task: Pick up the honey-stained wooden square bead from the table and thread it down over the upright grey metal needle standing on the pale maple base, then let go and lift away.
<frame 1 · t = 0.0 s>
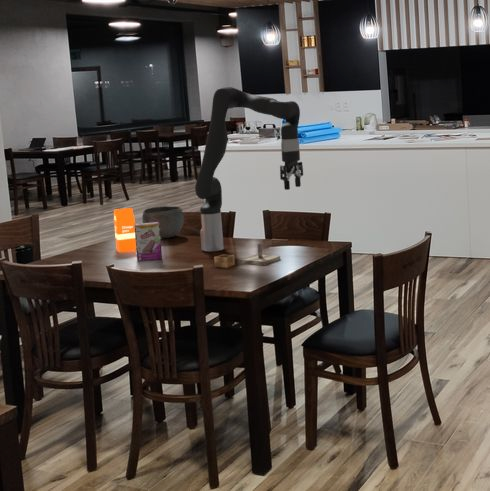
hand: (292, 188, 364), 29 cm above the table, fingers open, 8 cm apart
bead: (224, 265, 359), on the table
candy bar box: (149, 260, 383), on the table
orange juice: (127, 250, 409), on the table
bowl: (164, 238, 436), on the table
needle post: (260, 261, 363), on the table
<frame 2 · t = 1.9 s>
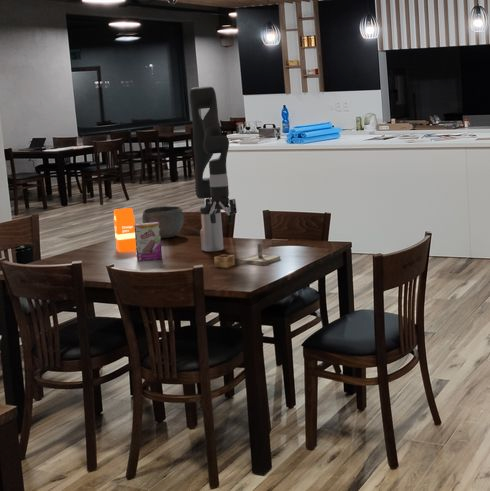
hand: (221, 223, 356), 18 cm above the table, fingers open, 8 cm apart
nothing on the table moved.
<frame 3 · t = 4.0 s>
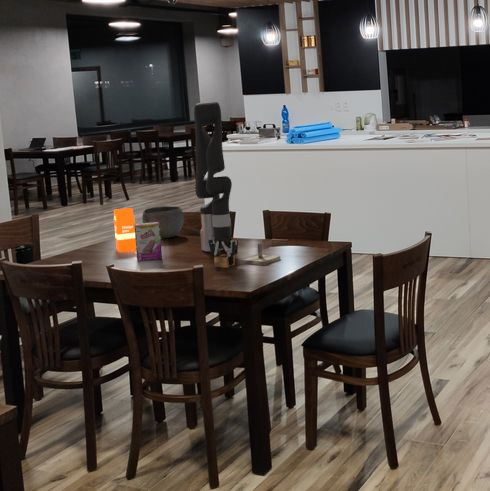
hand: (224, 264, 359), 1 cm above the table, fingers closed on bead, 6 cm apart
bead: (224, 265, 359), on the table, touching gripper
everything else where it was.
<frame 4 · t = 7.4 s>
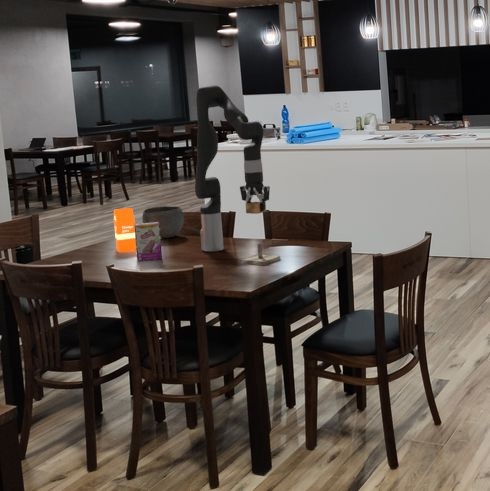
hand: (256, 210, 359), 22 cm above the table, fingers closed on bead, 6 cm apart
bead: (256, 212, 359), point 21 cm above the table, touching gripper
everything else where it was.
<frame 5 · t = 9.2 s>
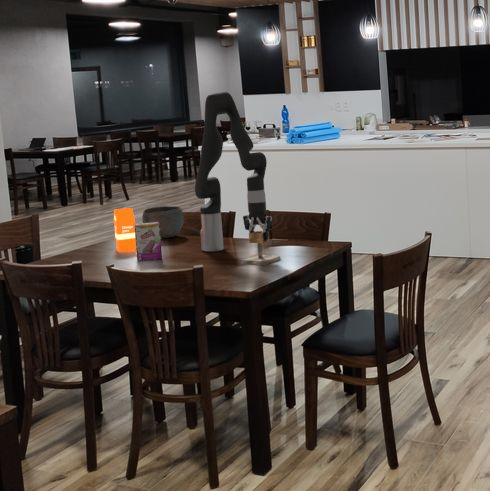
hand: (259, 240, 361), 9 cm above the table, fingers closed on bead, 6 cm apart
bead: (259, 241, 361), point 8 cm above the table, touching gripper
everything else where it was.
when the fingers open (3 cm above the table, at t = 11.0 s): bead stays where it is, resting on needle post.
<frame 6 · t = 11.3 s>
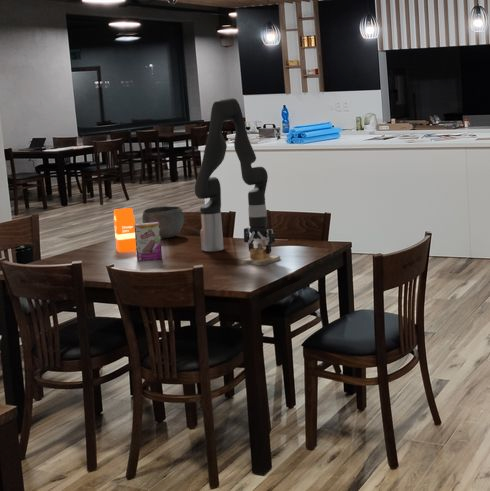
hand: (260, 252, 362), 4 cm above the table, fingers open, 8 cm apart
bead: (260, 257, 363), point 1 cm above the table, touching needle post
everything else where it was.
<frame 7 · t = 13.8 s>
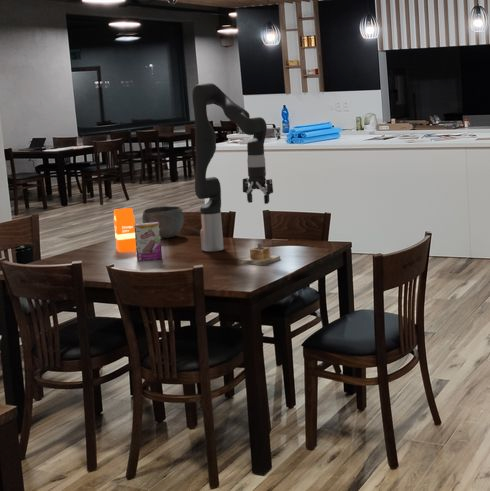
hand: (258, 203, 368), 24 cm above the table, fingers open, 8 cm apart
nothing on the table moved.
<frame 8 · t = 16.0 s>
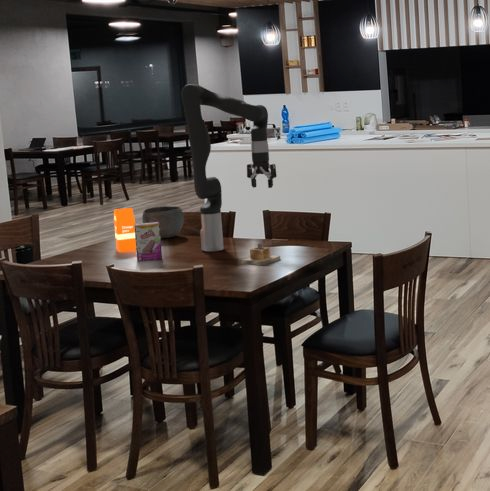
hand: (262, 187, 382), 28 cm above the table, fingers open, 8 cm apart
nothing on the table moved.
at the end: bead 0.1 cm off-centre on the needle post, point 1.5 cm above the needle post's base; the gripper is holding nothing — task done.
